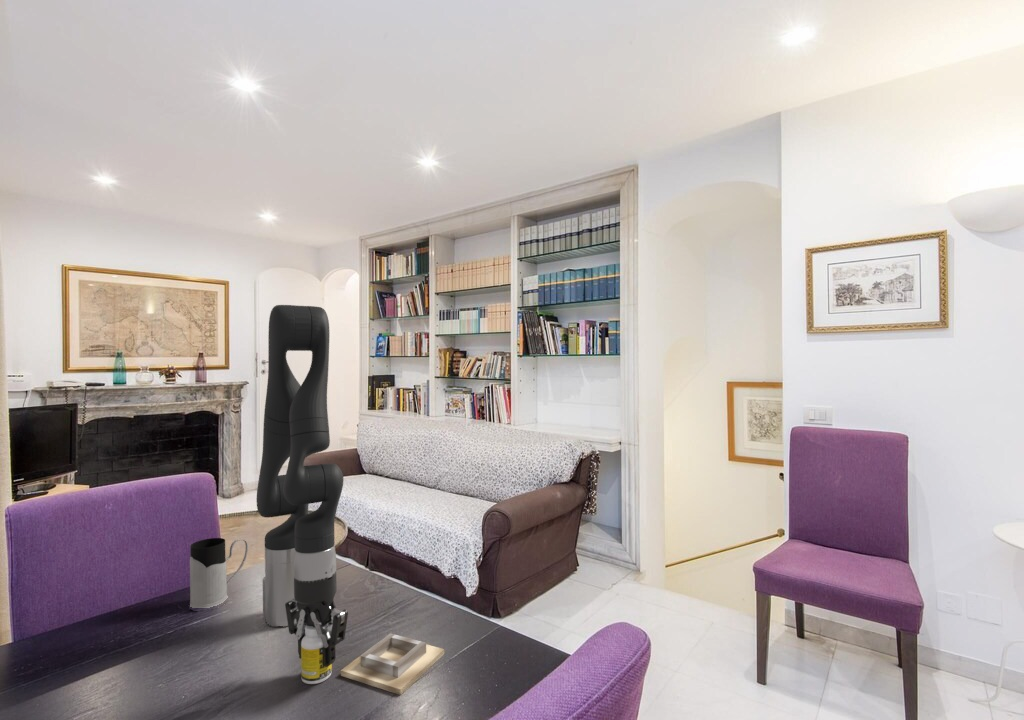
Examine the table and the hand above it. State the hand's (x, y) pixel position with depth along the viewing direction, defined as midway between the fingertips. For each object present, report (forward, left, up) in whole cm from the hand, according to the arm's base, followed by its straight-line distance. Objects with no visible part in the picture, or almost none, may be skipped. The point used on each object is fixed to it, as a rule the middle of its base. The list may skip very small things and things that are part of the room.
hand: (316, 660), depth 97 cm
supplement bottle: (0, 0, -3) cm, 3 cm away
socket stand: (+11, +9, -3) cm, 15 cm away
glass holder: (-48, +14, -3) cm, 50 cm away
